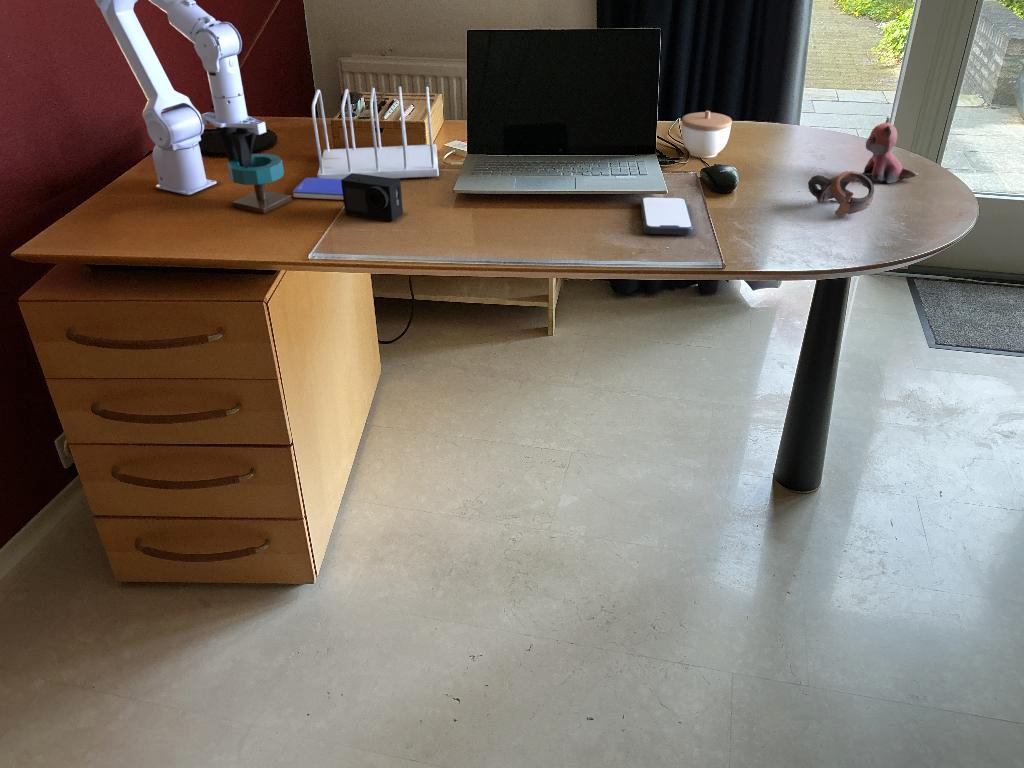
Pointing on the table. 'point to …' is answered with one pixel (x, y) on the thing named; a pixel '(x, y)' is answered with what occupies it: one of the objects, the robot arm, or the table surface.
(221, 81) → the robot arm
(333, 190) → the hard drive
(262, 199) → the stand
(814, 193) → the brown curved piece
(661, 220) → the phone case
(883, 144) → the stuffed fox
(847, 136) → the table surface
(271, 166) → the ring
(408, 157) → the file sorter
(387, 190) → the digital camera
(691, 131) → the trinket box
